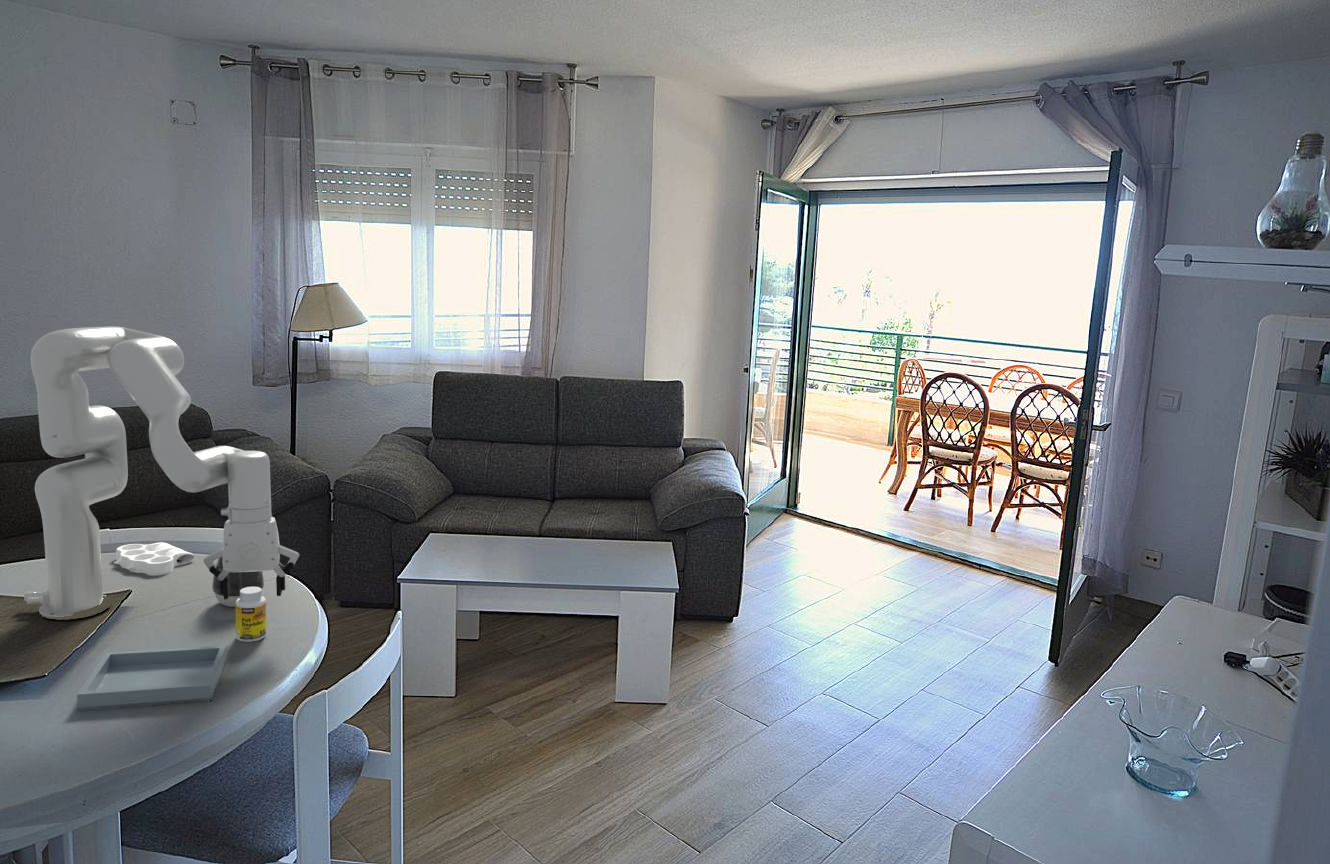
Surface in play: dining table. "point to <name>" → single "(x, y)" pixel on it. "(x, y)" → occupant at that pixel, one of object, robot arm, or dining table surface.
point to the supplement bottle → (250, 615)
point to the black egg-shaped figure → (236, 584)
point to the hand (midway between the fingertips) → (253, 595)
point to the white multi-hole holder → (151, 558)
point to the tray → (153, 678)
